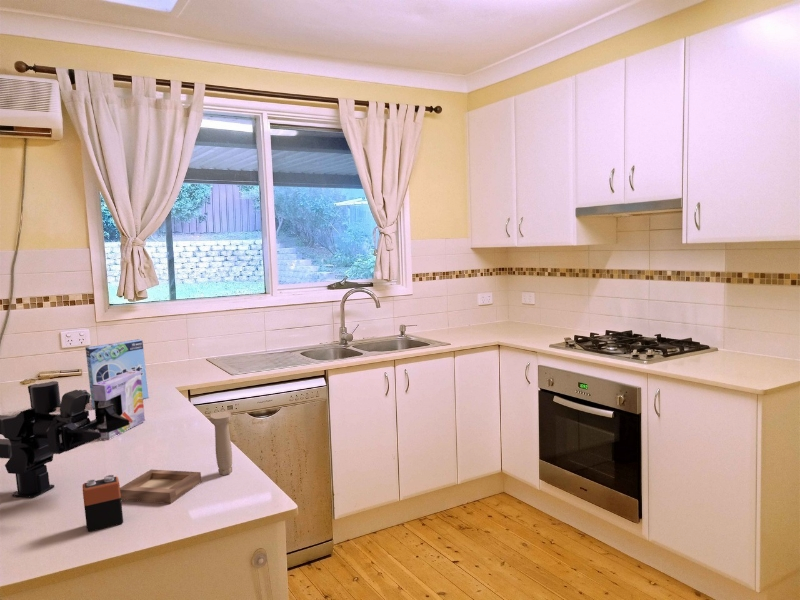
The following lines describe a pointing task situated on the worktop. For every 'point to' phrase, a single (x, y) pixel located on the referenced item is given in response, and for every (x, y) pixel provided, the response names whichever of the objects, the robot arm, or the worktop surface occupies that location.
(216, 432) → the handle
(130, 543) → the worktop surface
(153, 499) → the brown wooden flat tray
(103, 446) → the worktop surface
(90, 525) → the battery
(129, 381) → the cake pan box
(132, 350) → the light blue flat box
